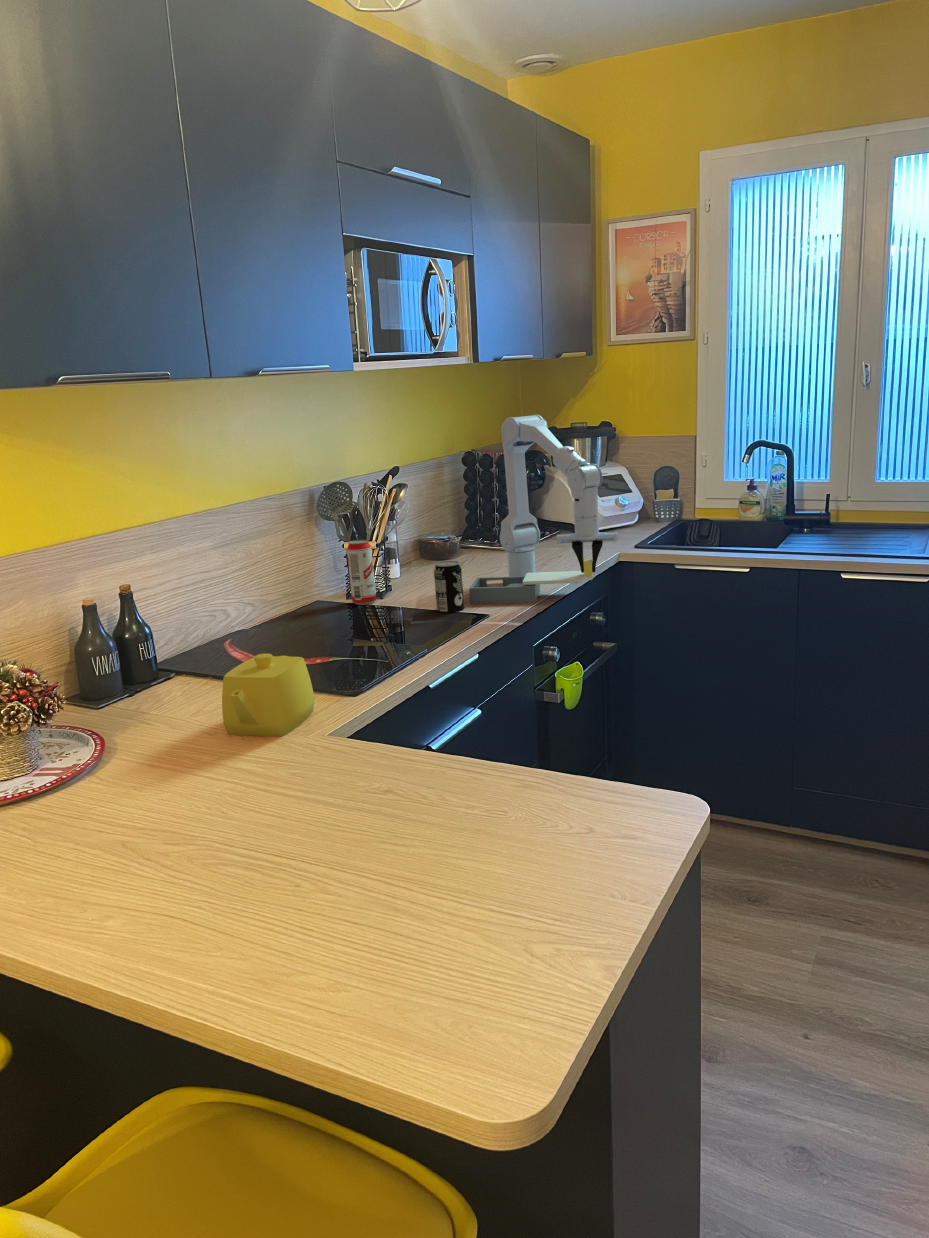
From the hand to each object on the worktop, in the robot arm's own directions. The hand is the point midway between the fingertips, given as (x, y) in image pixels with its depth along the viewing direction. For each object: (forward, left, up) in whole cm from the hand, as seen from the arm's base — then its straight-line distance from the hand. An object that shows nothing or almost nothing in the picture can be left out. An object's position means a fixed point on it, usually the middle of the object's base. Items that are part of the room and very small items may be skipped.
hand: (588, 571), depth 220 cm
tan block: (-3, -24, -6) cm, 24 cm away
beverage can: (+11, -33, -7) cm, 35 cm away
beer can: (-1, -58, -7) cm, 58 cm away
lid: (0, -7, -2) cm, 7 cm away
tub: (0, -21, -6) cm, 22 cm away
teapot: (+84, -50, -7) cm, 98 cm away
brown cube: (+2, -18, -6) cm, 19 cm away
